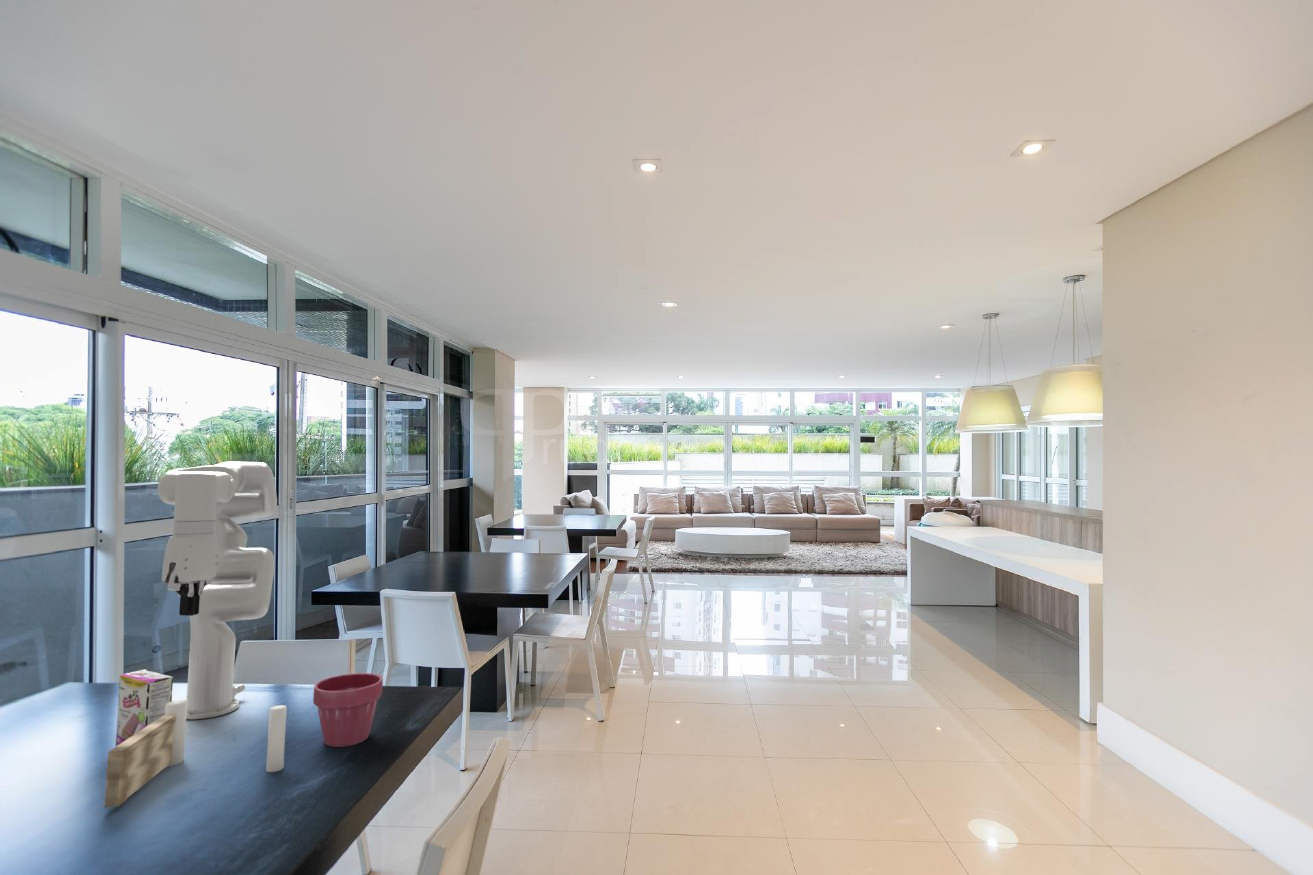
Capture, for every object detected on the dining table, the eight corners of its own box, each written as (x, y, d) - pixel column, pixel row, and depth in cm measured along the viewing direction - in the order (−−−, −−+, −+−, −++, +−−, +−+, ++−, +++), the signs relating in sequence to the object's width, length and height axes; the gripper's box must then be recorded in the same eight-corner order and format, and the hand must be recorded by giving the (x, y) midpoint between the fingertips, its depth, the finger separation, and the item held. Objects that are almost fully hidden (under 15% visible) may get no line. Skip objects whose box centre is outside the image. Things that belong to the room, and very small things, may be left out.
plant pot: (336, 725, 152) (338, 670, 153) (392, 728, 151) (394, 673, 152) (296, 750, 138) (299, 689, 139) (358, 753, 136) (360, 692, 137)
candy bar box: (112, 753, 135) (118, 674, 136) (139, 744, 140) (145, 668, 141) (142, 763, 130) (148, 681, 132) (169, 754, 135) (175, 675, 136)
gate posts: (172, 758, 133) (175, 699, 134) (287, 765, 131) (290, 705, 131) (156, 765, 130) (161, 705, 130) (275, 773, 127) (278, 711, 128)
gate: (160, 762, 129) (163, 715, 129) (172, 762, 129) (176, 714, 130) (104, 807, 111) (108, 751, 112) (118, 806, 112) (122, 750, 112)
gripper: (206, 526, 147) (200, 607, 145) (148, 531, 132) (141, 621, 130) (236, 527, 146) (231, 608, 144) (181, 531, 131) (175, 622, 130)
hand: (189, 614), depth 137 cm, fingers closed
